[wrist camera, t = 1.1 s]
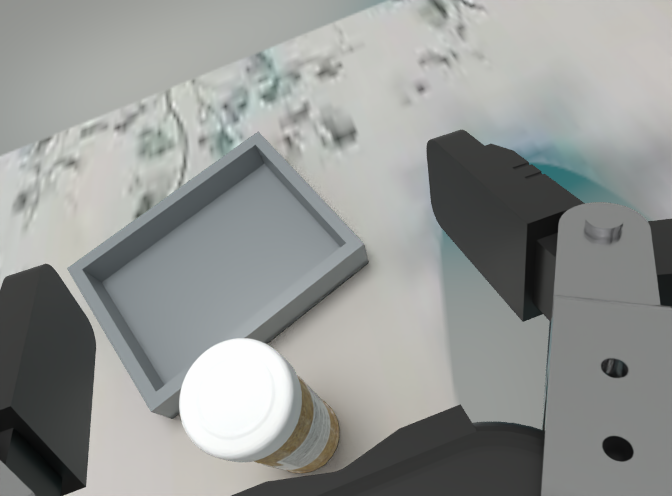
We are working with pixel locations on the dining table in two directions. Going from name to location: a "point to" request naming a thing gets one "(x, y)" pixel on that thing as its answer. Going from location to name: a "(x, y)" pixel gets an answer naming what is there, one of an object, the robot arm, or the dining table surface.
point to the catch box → (215, 267)
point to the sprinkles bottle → (256, 409)
